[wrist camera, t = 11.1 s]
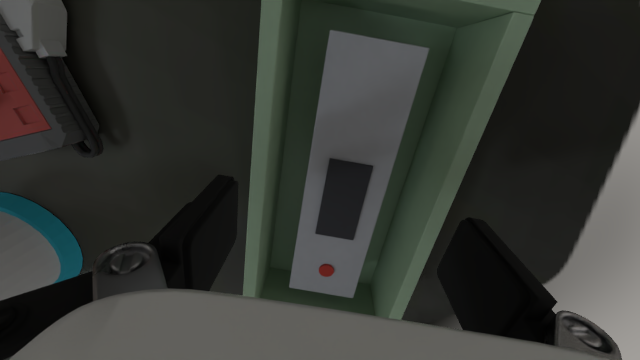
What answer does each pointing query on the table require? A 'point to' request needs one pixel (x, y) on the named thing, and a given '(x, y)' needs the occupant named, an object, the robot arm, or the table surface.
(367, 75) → the remote
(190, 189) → the table surface
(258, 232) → the tray
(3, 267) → the model tower
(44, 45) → the walkie-talkie
